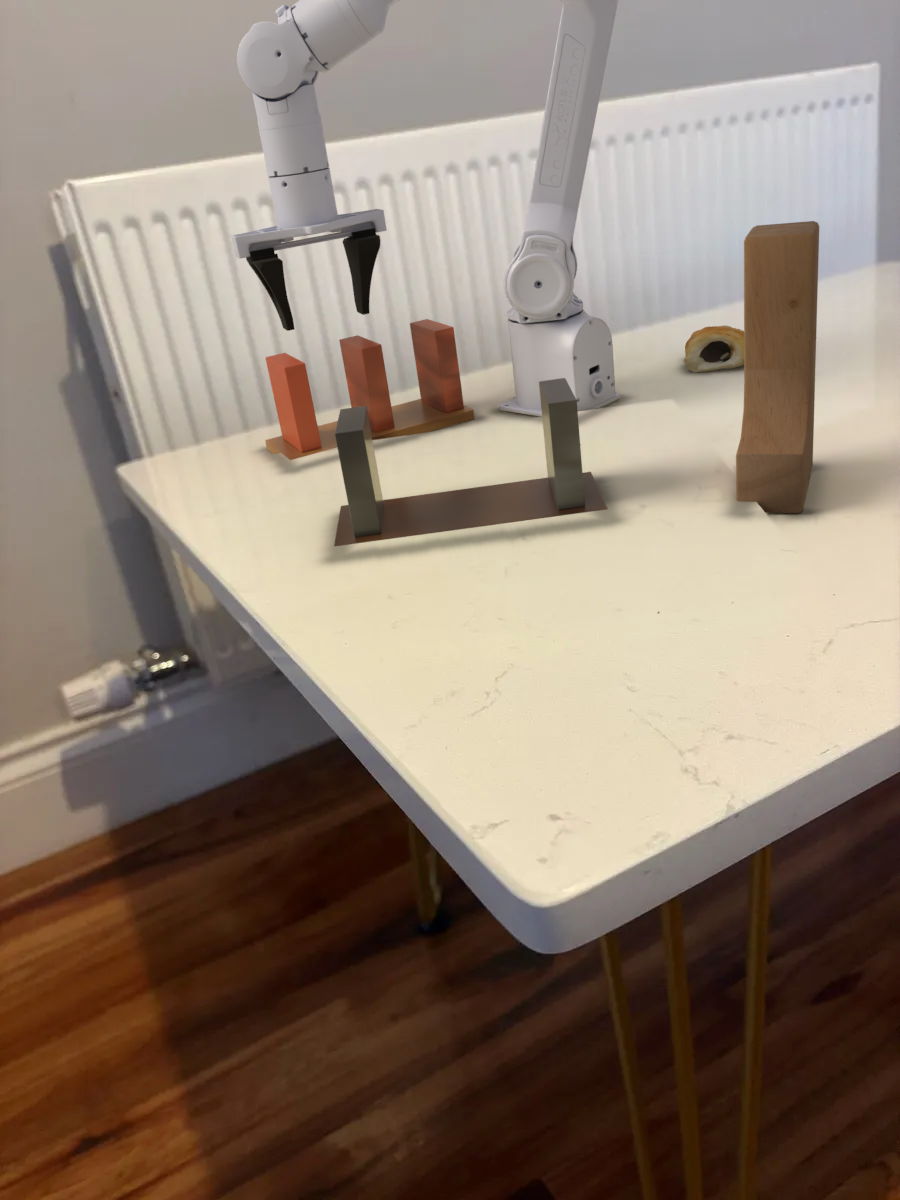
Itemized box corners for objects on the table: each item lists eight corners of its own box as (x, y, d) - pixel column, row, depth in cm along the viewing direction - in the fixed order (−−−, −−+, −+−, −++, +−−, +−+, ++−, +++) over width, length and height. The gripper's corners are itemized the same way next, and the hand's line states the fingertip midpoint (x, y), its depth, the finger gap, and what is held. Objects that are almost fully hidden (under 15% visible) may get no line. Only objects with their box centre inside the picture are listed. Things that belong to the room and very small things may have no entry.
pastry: (688, 350, 112) (688, 315, 111) (752, 346, 111) (753, 310, 109) (683, 374, 105) (682, 336, 103) (752, 370, 103) (753, 332, 101)
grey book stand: (591, 483, 81) (583, 371, 77) (608, 521, 74) (600, 400, 70) (342, 517, 82) (321, 408, 78) (335, 558, 75) (312, 440, 71)
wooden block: (802, 515, 71) (809, 243, 63) (735, 513, 72) (733, 249, 64) (812, 468, 78) (820, 219, 70) (751, 467, 80) (751, 225, 72)
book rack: (440, 403, 107) (427, 316, 103) (474, 419, 100) (463, 327, 96) (266, 449, 101) (246, 359, 97) (292, 470, 94) (271, 373, 90)
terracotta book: (301, 433, 101) (285, 352, 97) (322, 447, 96) (305, 362, 92) (282, 438, 100) (265, 357, 96) (301, 452, 95) (284, 367, 91)
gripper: (229, 187, 89) (263, 342, 95) (386, 160, 93) (408, 311, 99) (215, 184, 95) (248, 330, 101) (363, 159, 99) (386, 301, 105)
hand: (326, 320), depth 101 cm, fingers open, 7 cm apart
